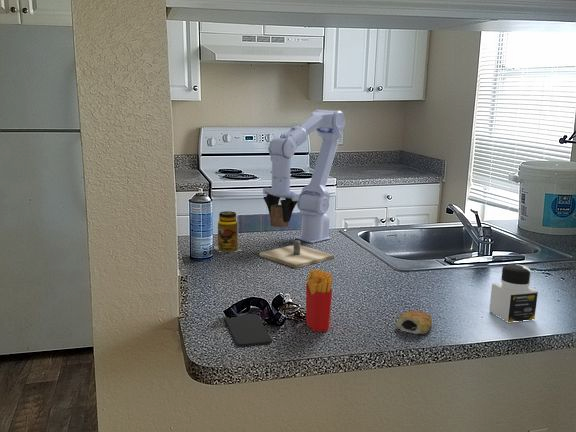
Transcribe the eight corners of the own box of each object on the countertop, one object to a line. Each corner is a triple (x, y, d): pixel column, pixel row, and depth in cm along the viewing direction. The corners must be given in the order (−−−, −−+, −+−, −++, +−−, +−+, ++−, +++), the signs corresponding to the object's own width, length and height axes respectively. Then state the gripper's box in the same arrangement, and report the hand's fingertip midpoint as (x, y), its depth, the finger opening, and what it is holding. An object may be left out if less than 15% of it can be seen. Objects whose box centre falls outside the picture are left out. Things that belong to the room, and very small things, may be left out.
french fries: (301, 319, 125) (303, 267, 123) (318, 317, 127) (320, 265, 124) (317, 334, 118) (320, 279, 115) (335, 332, 119) (337, 277, 116)
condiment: (221, 254, 174) (221, 215, 171) (211, 247, 181) (211, 210, 179) (243, 251, 177) (243, 213, 175) (232, 244, 185) (232, 208, 182)
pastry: (409, 317, 129) (410, 301, 128) (438, 324, 125) (439, 308, 125) (393, 330, 121) (394, 314, 120) (423, 339, 118) (425, 321, 117)
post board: (296, 247, 184) (297, 232, 183) (333, 258, 172) (334, 242, 171) (259, 255, 173) (259, 239, 172) (296, 268, 162) (296, 251, 160)
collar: (280, 222, 183) (280, 203, 182) (292, 225, 179) (292, 206, 178) (266, 224, 179) (267, 205, 178) (278, 227, 175) (279, 208, 174)
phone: (256, 313, 127) (273, 341, 113) (256, 317, 127) (273, 345, 113) (223, 316, 125) (236, 344, 111) (223, 319, 125) (236, 348, 111)
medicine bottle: (508, 323, 126) (514, 272, 124) (488, 312, 133) (493, 262, 130) (535, 321, 128) (541, 270, 126) (514, 309, 135) (520, 260, 132)
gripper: (256, 175, 179) (255, 217, 181) (287, 181, 168) (286, 225, 171) (272, 173, 183) (271, 214, 186) (304, 179, 173) (302, 222, 176)
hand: (279, 220), depth 179 cm, fingers closed on collar, 6 cm apart
